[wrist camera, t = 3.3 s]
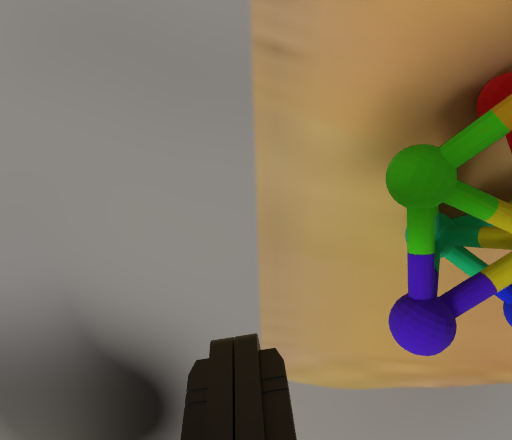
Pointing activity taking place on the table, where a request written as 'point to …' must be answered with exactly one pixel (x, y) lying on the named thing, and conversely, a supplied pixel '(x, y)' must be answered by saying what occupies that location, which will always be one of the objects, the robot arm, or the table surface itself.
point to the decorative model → (451, 227)
